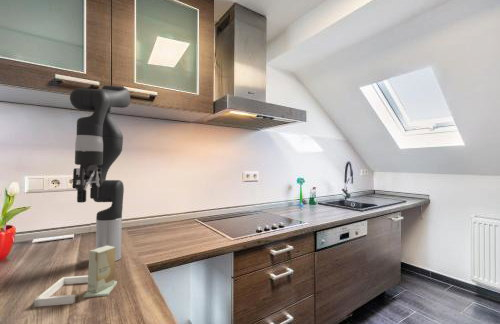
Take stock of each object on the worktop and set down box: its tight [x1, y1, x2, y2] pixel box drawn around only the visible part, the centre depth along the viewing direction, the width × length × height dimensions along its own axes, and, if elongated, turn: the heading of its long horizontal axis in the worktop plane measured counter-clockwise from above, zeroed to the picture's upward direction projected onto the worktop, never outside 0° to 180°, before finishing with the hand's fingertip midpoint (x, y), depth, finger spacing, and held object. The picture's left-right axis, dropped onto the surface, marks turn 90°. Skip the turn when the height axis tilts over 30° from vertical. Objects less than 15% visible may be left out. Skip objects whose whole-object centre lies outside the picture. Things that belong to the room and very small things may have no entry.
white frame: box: [33, 275, 88, 308], centre depth 73 cm, size 14×10×2 cm
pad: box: [83, 280, 118, 298], centre depth 75 cm, size 8×7×1 cm
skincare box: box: [87, 245, 116, 293], centre depth 75 cm, size 6×4×12 cm
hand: (88, 200), depth 76 cm, fingers open, 8 cm apart
